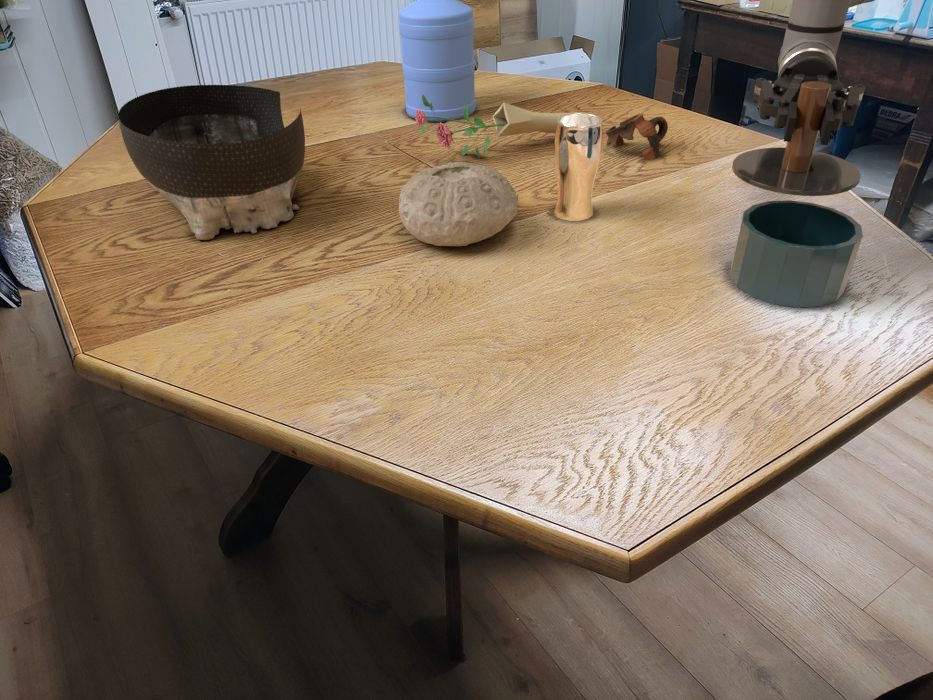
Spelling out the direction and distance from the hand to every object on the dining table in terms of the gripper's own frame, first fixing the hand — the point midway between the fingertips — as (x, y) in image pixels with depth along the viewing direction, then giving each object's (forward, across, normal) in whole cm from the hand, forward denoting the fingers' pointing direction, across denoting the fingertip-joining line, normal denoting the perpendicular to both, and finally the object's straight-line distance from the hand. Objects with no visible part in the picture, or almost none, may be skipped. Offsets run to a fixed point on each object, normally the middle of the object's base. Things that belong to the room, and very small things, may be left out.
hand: (808, 131), depth 78 cm
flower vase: (-36, +48, -20) cm, 64 cm away
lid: (-5, 0, -7) cm, 9 cm away
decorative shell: (-1, +44, -20) cm, 49 cm away
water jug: (-56, +71, -20) cm, 92 cm away
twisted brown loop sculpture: (-42, +24, -20) cm, 53 cm away
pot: (-1, -2, -20) cm, 20 cm away
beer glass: (-12, +29, -20) cm, 37 cm away
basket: (-1, +86, -20) cm, 88 cm away
